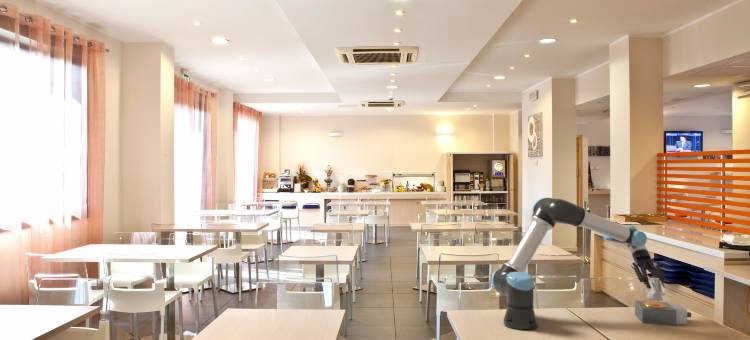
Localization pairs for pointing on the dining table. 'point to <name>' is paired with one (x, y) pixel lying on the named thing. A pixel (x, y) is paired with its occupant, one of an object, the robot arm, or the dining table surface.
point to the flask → (656, 287)
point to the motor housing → (661, 313)
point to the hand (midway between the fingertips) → (659, 294)
